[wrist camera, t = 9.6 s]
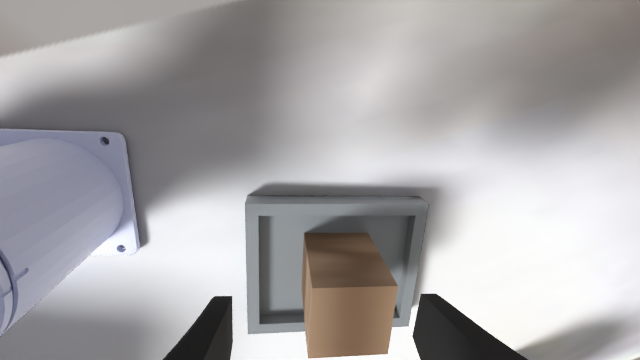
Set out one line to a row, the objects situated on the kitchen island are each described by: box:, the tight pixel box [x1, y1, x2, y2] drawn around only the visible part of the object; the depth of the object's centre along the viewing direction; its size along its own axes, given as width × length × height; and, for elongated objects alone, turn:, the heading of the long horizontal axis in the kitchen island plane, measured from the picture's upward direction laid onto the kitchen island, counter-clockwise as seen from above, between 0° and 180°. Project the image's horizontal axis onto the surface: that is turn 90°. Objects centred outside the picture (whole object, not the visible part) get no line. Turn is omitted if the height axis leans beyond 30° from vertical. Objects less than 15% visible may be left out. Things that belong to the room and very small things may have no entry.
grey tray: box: [245, 195, 429, 334], centre depth 22 cm, size 12×10×2 cm
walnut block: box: [301, 233, 398, 358], centre depth 19 cm, size 4×4×6 cm
